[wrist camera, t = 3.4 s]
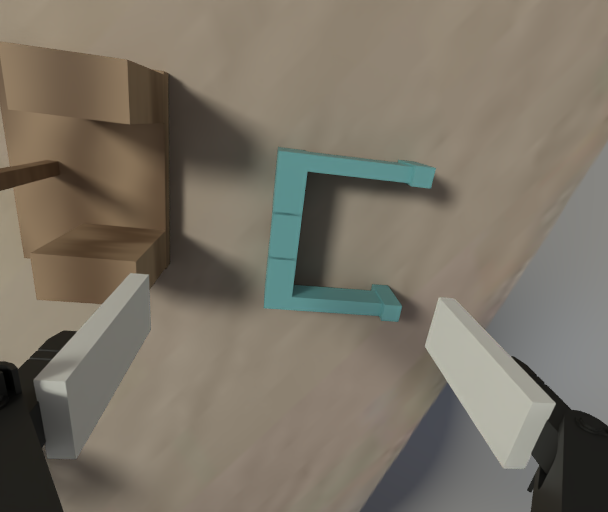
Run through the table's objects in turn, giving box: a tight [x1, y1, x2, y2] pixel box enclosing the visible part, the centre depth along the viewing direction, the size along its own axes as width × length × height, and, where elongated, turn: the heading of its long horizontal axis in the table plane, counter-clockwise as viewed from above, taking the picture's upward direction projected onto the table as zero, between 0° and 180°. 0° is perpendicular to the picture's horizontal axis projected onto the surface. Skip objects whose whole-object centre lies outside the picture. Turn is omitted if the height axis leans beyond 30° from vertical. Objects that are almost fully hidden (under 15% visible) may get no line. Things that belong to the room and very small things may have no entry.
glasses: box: [264, 147, 436, 322], centre depth 30 cm, size 12×13×4 cm
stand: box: [0, 42, 170, 304], centre depth 24 cm, size 11×15×8 cm
